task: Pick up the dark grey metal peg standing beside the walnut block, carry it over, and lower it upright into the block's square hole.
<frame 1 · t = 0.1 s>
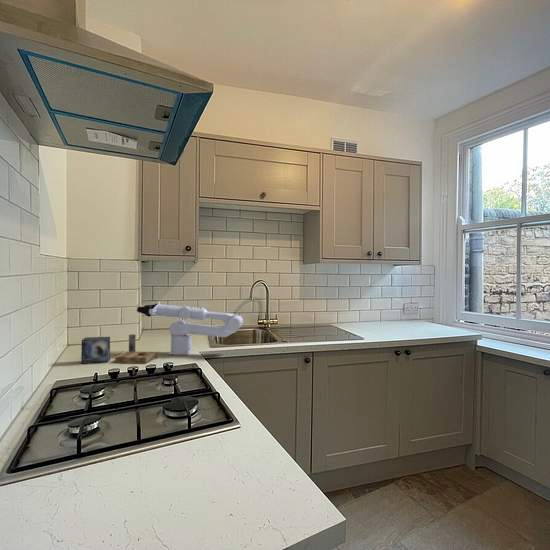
hand: (140, 308, 172), 22 cm above the counter, tool horizontal, fingers open, 7 cm apart
peg: (132, 353, 169), on the counter
hole block: (136, 359, 157), on the counter
small box: (95, 362, 153), on the counter
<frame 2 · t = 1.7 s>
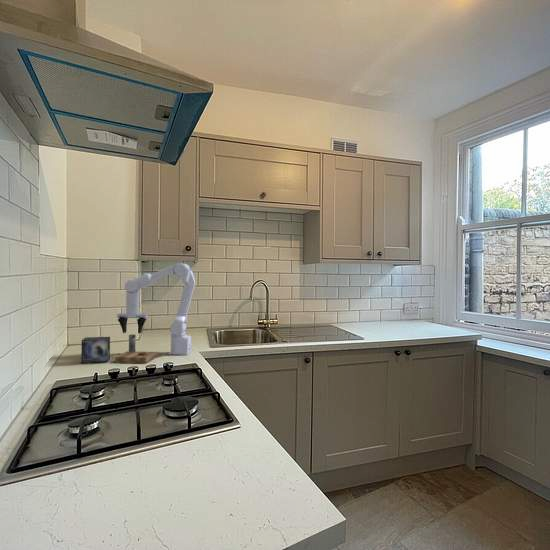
hand: (132, 332, 169), 10 cm above the counter, tool pointing down, fingers open, 7 cm apart
nothing on the counter moved.
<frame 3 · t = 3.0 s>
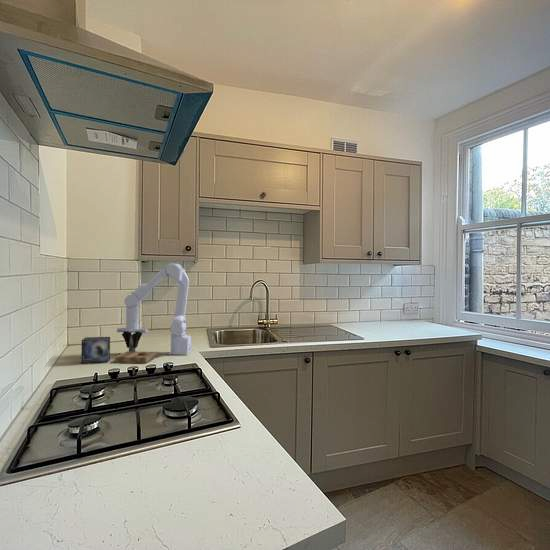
hand: (132, 347, 169), 3 cm above the counter, tool pointing down, fingers closed on peg, 3 cm apart
peg: (132, 353, 169), on the counter, touching gripper
everything else where it was.
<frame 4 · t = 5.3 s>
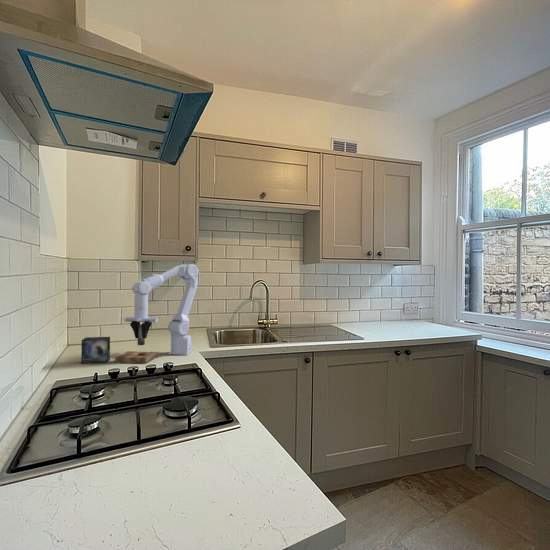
hand: (141, 338, 157), 10 cm above the counter, tool pointing down, fingers closed on peg, 3 cm apart
peg: (141, 344, 157), point 7 cm above the counter, touching gripper
everything else where it was.
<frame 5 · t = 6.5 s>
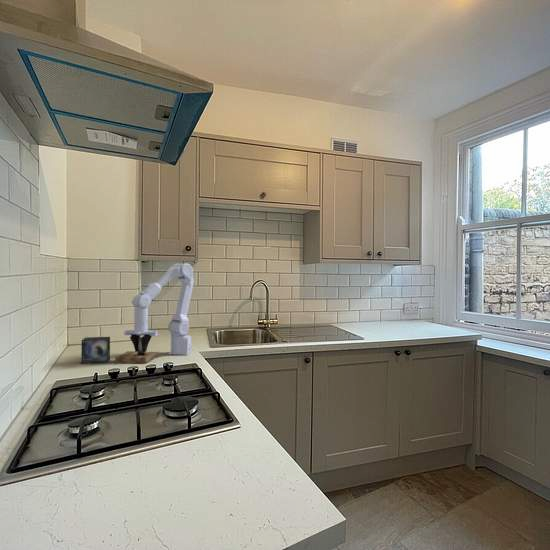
hand: (140, 351, 157), 4 cm above the counter, tool pointing down, fingers closed on peg, 3 cm apart
peg: (141, 357, 157), point 1 cm above the counter, touching gripper
everything else where it was.
when the fingers open (4 cm above the counter, at t = 7.4 s): peg stays where it is, resting in hole block.
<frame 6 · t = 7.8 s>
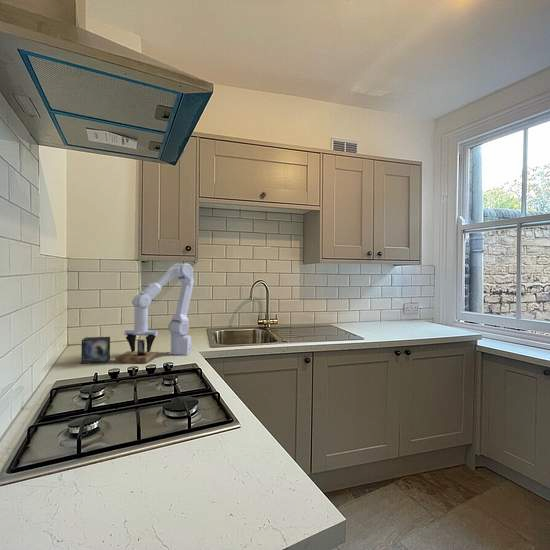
hand: (140, 351, 157), 4 cm above the counter, tool pointing down, fingers open, 7 cm apart
peg: (140, 360, 157), resting in hole block
everything else where it was.
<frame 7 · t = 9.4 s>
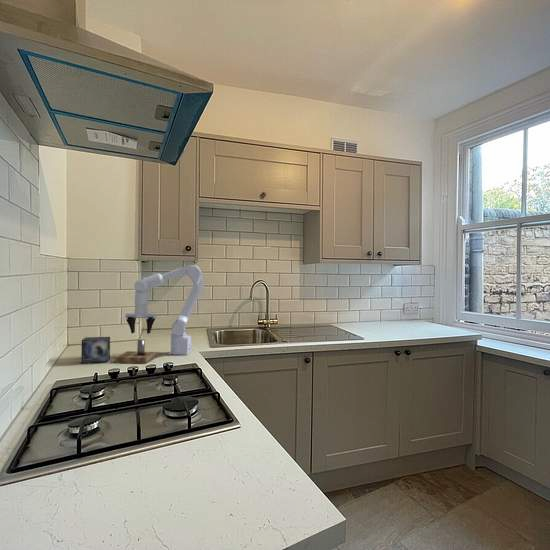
hand: (140, 333, 166), 10 cm above the counter, tool pointing down, fingers open, 7 cm apart
nothing on the counter moved.
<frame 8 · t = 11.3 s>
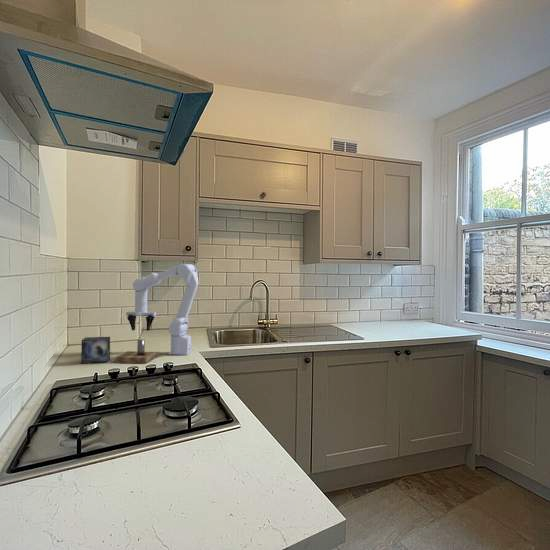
hand: (140, 330, 174), 10 cm above the counter, tool pointing down, fingers open, 7 cm apart
nothing on the counter moved.
at the end: peg 0.1 cm from the target spot on the hole block, point 0.0 cm above the hole block's base; peg tilted 0°; the gripper is holding nothing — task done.
